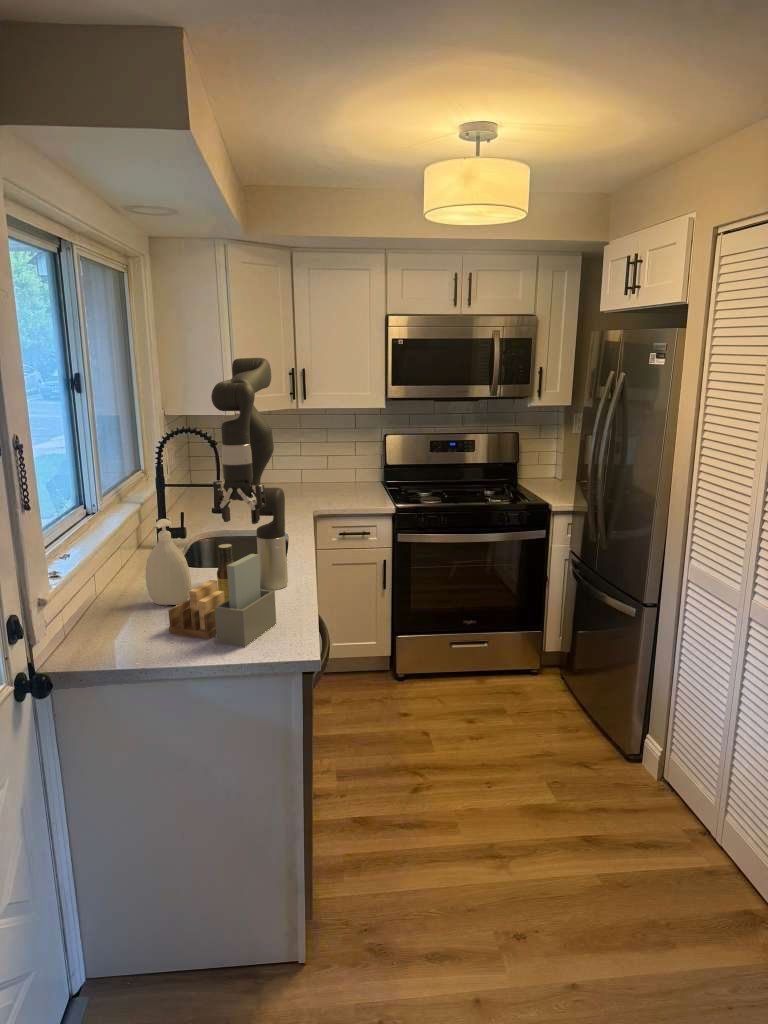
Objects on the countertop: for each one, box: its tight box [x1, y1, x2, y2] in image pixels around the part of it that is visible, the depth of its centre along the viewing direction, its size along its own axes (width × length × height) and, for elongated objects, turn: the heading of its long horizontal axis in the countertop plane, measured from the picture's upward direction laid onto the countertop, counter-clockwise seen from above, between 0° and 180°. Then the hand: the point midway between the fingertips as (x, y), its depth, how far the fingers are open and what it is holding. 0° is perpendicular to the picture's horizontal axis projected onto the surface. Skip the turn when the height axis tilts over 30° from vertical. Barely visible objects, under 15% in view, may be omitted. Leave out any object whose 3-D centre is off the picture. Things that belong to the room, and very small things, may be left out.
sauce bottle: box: [216, 543, 235, 601], centre depth 199 cm, size 6×6×20 cm
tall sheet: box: [227, 553, 261, 610], centre depth 179 cm, size 12×2×20 cm, turn 160°
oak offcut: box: [189, 579, 218, 625], centre depth 186 cm, size 10×2×10 cm, turn 160°
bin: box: [214, 588, 277, 648], centre depth 180 cm, size 17×9×10 cm, turn 160°
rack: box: [167, 598, 216, 640], centre depth 185 cm, size 14×13×7 cm
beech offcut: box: [198, 591, 225, 630], centre depth 183 cm, size 9×2×8 cm, turn 160°
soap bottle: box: [145, 518, 192, 606], centre depth 202 cm, size 14×8×27 cm, turn 81°
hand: (240, 522), depth 175 cm, fingers open, 8 cm apart
